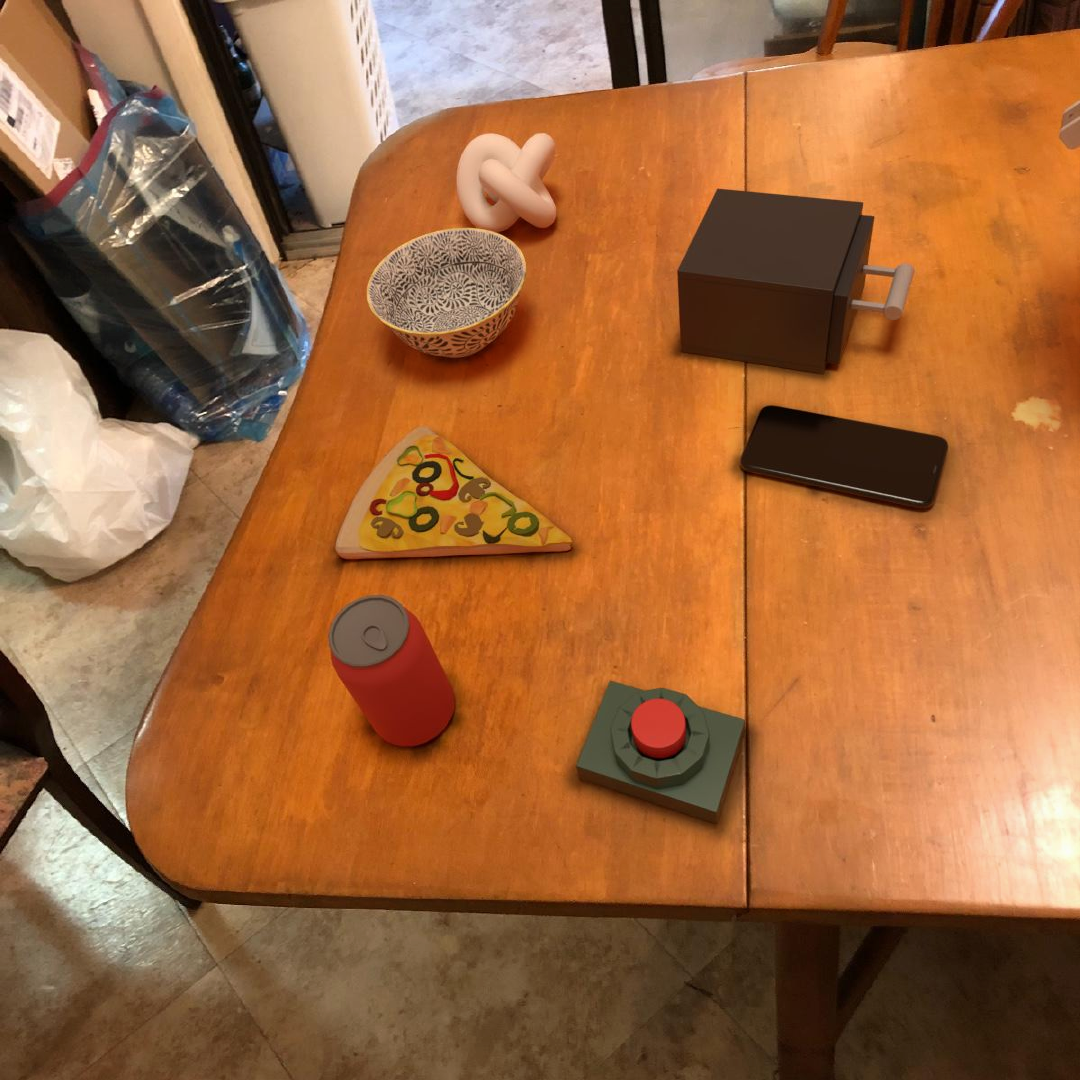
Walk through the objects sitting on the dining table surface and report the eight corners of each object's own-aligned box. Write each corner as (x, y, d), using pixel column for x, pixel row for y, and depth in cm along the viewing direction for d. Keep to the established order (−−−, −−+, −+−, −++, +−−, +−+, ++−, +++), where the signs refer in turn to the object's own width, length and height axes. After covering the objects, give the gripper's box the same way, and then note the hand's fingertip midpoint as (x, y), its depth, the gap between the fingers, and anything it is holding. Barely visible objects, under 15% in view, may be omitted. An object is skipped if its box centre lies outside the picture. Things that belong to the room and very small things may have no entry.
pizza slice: (412, 431, 90) (404, 409, 88) (609, 484, 82) (606, 461, 80) (324, 555, 82) (313, 535, 80) (533, 625, 75) (526, 605, 72)
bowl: (569, 316, 97) (559, 255, 91) (467, 412, 91) (449, 353, 85) (457, 269, 104) (441, 210, 98) (356, 355, 98) (333, 298, 92)
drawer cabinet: (852, 287, 93) (863, 202, 85) (823, 374, 86) (832, 290, 79) (717, 270, 97) (717, 188, 90) (680, 351, 91) (676, 270, 83)
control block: (744, 733, 67) (746, 707, 64) (716, 824, 63) (716, 802, 60) (612, 694, 70) (607, 667, 67) (579, 778, 67) (572, 755, 63)
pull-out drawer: (911, 291, 90) (925, 220, 84) (889, 372, 84) (902, 303, 78) (738, 269, 96) (739, 202, 89) (705, 344, 90) (704, 277, 84)
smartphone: (736, 472, 81) (931, 514, 75) (736, 465, 80) (933, 507, 74) (762, 408, 85) (949, 443, 79) (762, 401, 84) (951, 436, 78)
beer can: (403, 767, 69) (352, 691, 60) (357, 708, 73) (302, 628, 63) (473, 711, 71) (435, 628, 62) (425, 656, 75) (381, 571, 65)
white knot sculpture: (455, 252, 106) (436, 181, 99) (474, 189, 113) (458, 119, 106) (553, 248, 104) (540, 175, 97) (566, 184, 111) (556, 112, 104)
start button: (693, 718, 64) (692, 707, 63) (676, 765, 62) (675, 754, 61) (642, 703, 65) (641, 692, 64) (625, 749, 64) (623, 738, 62)
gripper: (1260, -121, 61) (1054, 28, 72) (1265, 35, 51) (1022, 182, 62) (1309, -46, 63) (1100, 88, 74) (1323, 119, 53) (1078, 246, 64)
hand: (1065, 132), depth 68 cm, fingers closed
